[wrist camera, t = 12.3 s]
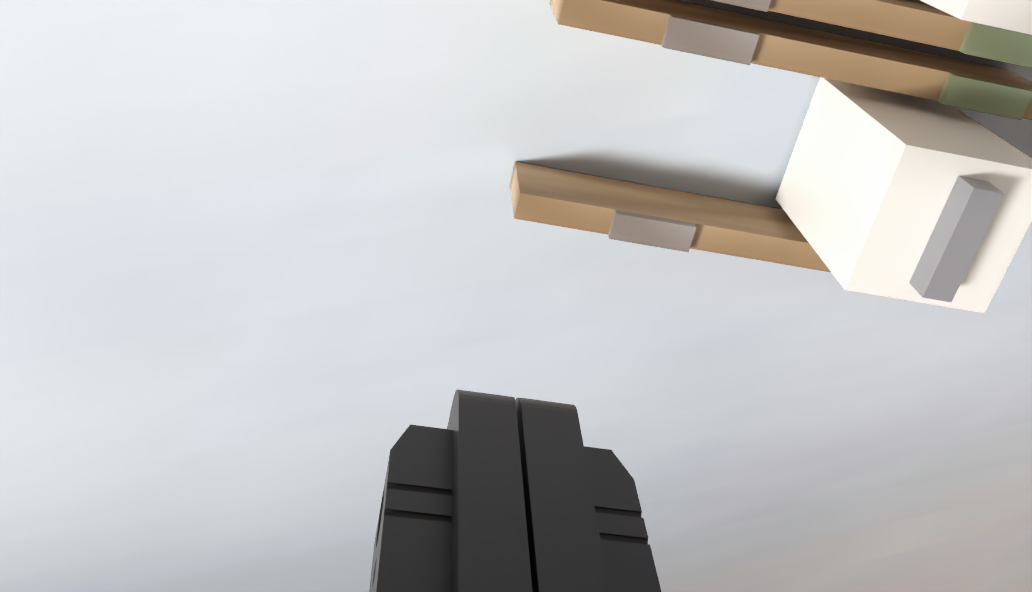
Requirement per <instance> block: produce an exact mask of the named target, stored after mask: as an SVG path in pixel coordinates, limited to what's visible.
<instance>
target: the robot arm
mask: <svg viewBox="0 0 1032 592" xmlns="http://www.w3.org/2000/svg"><path fill="white" fill-rule="evenodd" d="M641 512H642V511H641V507H640V503H639V499H638V494H637V490H636V486H635V482H634V479H633V478H632V477H631V475H630V474H629V473H628V471H627V470H626V469H625V467H624V466H623V465H622V464H621V462H620V461H619V460H618V458H617V457H616V456H615V454H614V453H613V452H612V450H607V449H599V448H591V447H584V446H583V441H582V435H581V430H580V424H579V419H578V413H577V409H576V407H575V406H574V405H570V404H562V403H555V402H548V401H540V400H533V399H525V398H517V399H516V400H515V398H514V397H508V396H501V395H493V394H486V393H478V392H471V391H463V390H456V392H455V395H454V399H453V403H452V408H451V413H450V418H449V422H448V427H447V429H440V428H432V427H424V426H416V425H410V426H409V427H408V428H407V430H406V431H405V432H404V433H403V435H402V436H401V437H400V439H399V440H398V441H397V442H396V444H395V445H394V446H393V447H392V449H391V450H390V456H389V462H388V467H387V473H386V479H385V485H384V491H383V497H382V502H381V508H380V514H379V520H378V526H377V532H376V537H375V544H374V553H373V562H372V572H371V581H370V590H369V592H661V589H660V585H659V580H658V576H657V572H656V568H655V564H654V560H653V556H652V552H651V548H650V545H648V543H647V542H648V535H647V531H646V527H645V523H644V519H643V518H641Z"/></svg>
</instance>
